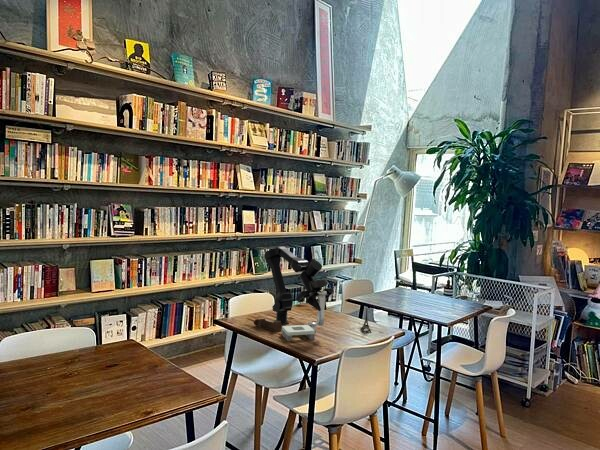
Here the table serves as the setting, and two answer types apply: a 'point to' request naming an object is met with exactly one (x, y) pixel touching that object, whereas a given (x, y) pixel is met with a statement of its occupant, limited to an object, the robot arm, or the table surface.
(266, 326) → the bolt
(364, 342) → the table surface
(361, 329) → the eiffel tower figurine
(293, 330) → the square washer plate
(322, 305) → the long pin
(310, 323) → the short stub
